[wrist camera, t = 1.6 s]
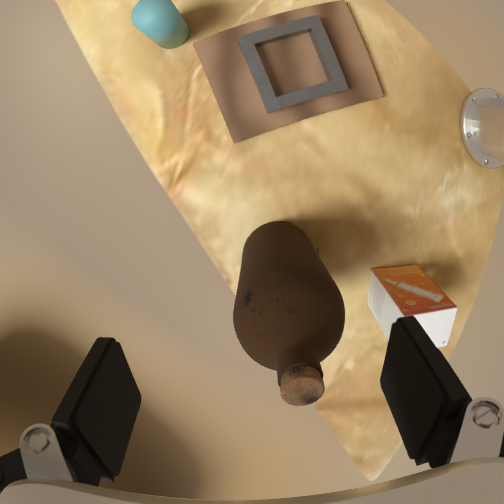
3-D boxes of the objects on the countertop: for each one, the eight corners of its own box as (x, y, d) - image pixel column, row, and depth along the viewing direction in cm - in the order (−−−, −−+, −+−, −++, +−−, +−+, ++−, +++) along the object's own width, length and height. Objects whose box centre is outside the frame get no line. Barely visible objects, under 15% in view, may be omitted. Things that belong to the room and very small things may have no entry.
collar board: (341, 2, 31) (348, -6, 28) (380, 96, 36) (390, 95, 33) (194, 45, 33) (189, 39, 30) (234, 142, 38) (233, 144, 35)
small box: (416, 262, 45) (459, 306, 33) (411, 298, 47) (447, 347, 35) (369, 267, 45) (404, 316, 33) (365, 304, 47) (395, 358, 35)
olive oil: (234, 283, 46) (222, 429, 23) (243, 211, 42) (236, 327, 19) (307, 291, 46) (347, 433, 23) (322, 222, 42) (396, 338, 19)
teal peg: (182, 12, 31) (165, -13, 23) (194, 39, 33) (179, 19, 25) (150, 27, 32) (126, 6, 24) (161, 54, 34) (138, 38, 25)
